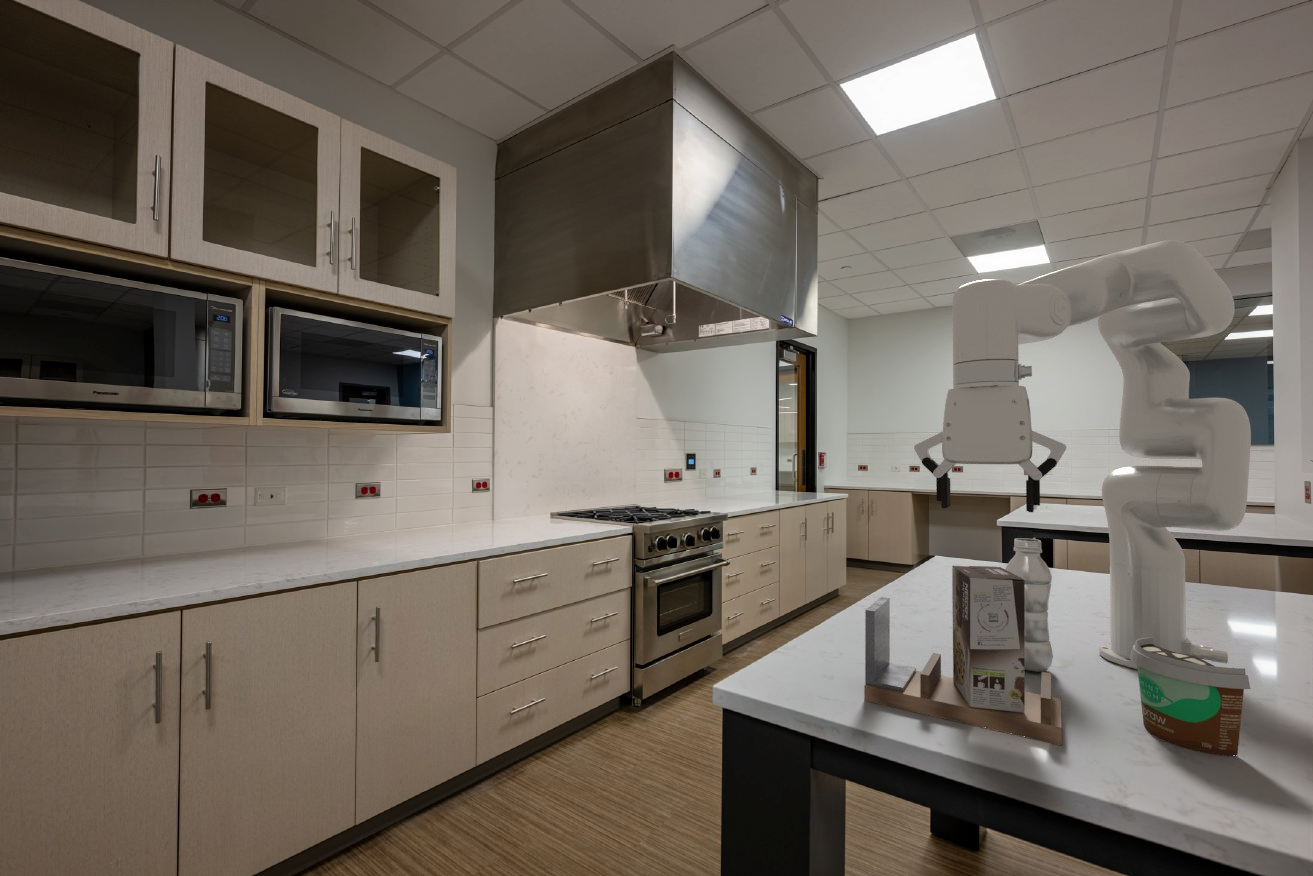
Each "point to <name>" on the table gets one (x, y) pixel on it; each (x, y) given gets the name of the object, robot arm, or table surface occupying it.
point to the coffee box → (989, 637)
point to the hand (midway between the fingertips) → (986, 509)
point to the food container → (1189, 699)
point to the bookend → (882, 650)
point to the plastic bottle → (1034, 602)
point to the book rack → (947, 702)
